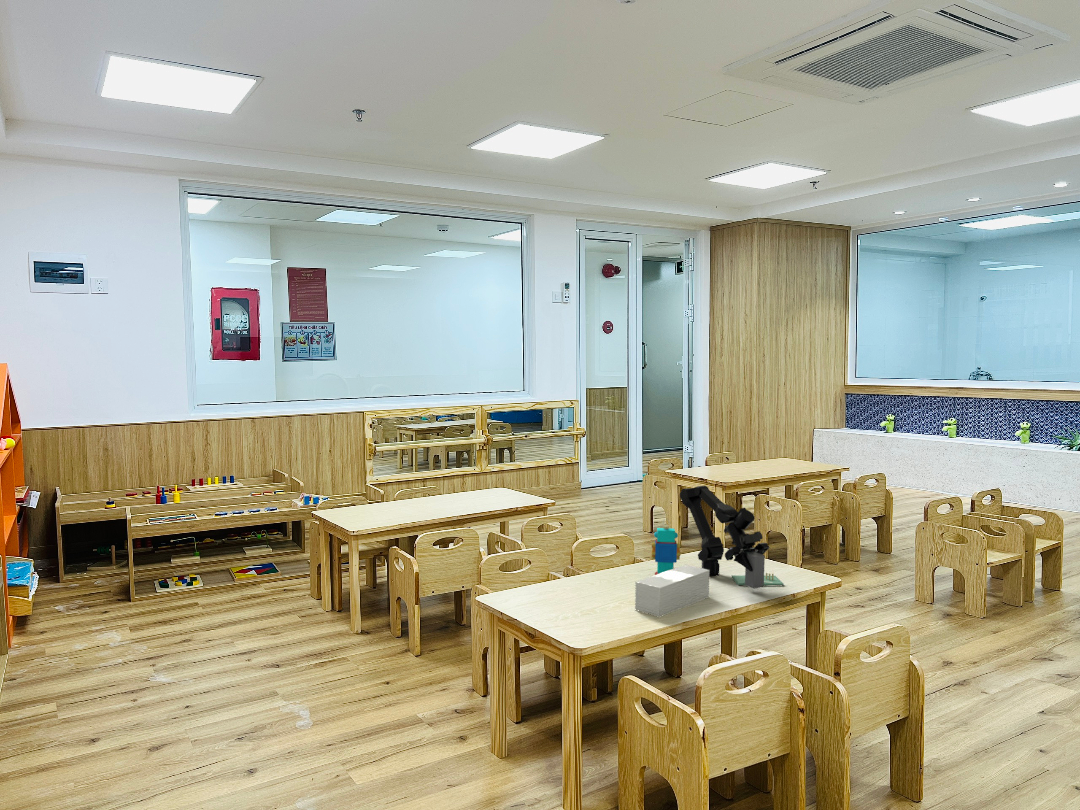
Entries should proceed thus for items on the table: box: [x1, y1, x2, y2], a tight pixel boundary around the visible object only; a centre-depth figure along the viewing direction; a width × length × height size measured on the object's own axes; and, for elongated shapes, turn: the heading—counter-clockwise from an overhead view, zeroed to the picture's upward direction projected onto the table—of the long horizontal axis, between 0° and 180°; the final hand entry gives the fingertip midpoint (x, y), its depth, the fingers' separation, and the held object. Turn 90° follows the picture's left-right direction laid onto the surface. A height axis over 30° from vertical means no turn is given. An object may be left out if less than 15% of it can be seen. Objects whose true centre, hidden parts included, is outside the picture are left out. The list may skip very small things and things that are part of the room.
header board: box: [731, 572, 785, 586], centre depth 319 cm, size 18×11×4 cm, turn 90°
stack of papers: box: [634, 564, 710, 618], centre depth 291 cm, size 32×11×11 cm, turn 136°
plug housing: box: [744, 552, 766, 589], centre depth 305 cm, size 5×5×12 cm
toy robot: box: [650, 519, 681, 575], centre depth 321 cm, size 12×6×25 cm, turn 84°
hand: (757, 570), depth 304 cm, fingers closed on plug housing, 5 cm apart
